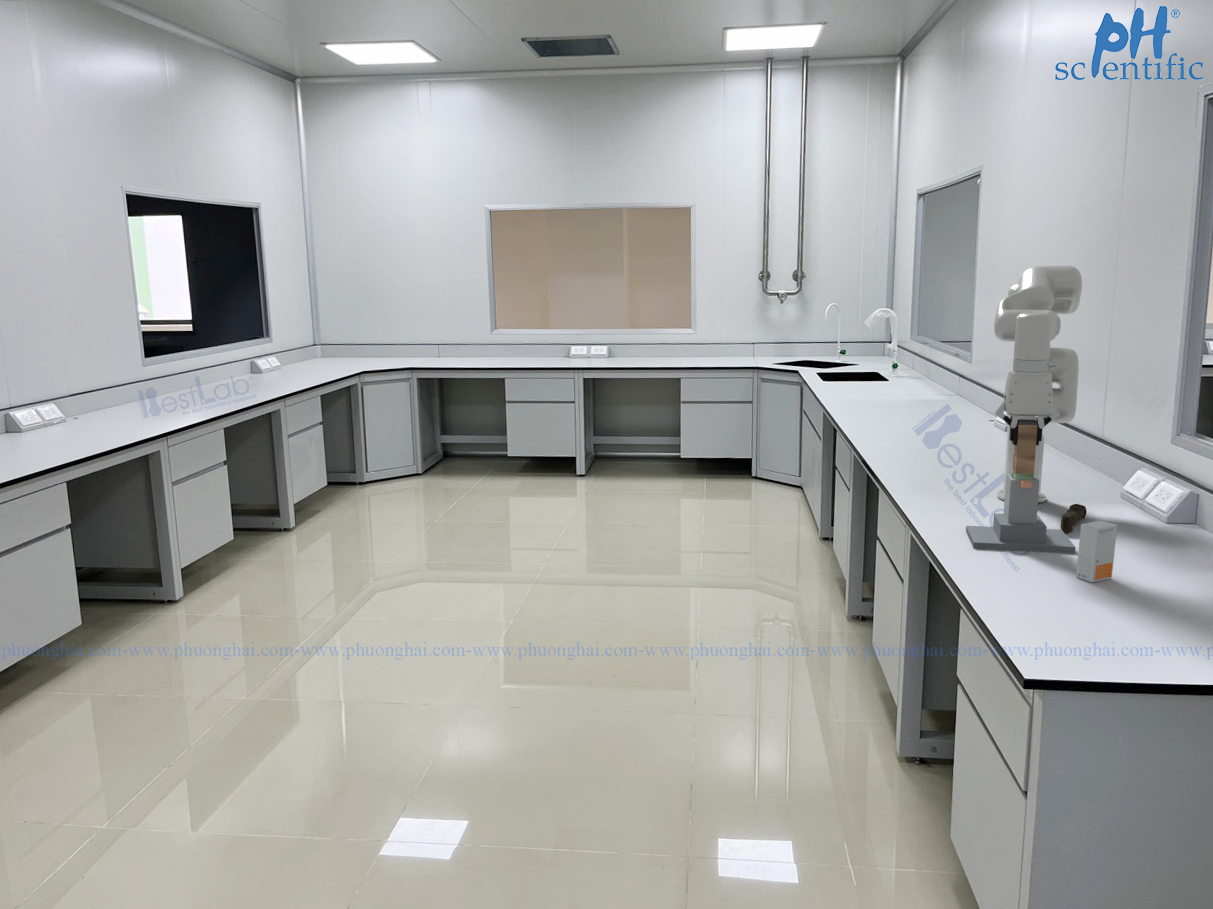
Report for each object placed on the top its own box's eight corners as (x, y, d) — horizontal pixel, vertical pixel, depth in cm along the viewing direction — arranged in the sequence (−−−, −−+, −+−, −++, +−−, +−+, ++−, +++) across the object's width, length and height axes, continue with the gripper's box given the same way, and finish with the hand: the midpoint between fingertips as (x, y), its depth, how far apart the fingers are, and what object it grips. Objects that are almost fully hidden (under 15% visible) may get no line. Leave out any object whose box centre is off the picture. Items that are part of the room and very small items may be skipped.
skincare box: (1092, 583, 193) (1097, 528, 191) (1075, 577, 197) (1080, 523, 195) (1113, 579, 196) (1118, 524, 193) (1095, 573, 200) (1100, 519, 197)
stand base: (965, 531, 231) (969, 469, 228) (1061, 535, 226) (1066, 472, 223) (973, 548, 218) (977, 482, 215) (1074, 553, 213) (1080, 486, 209)
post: (1011, 487, 222) (1015, 418, 218) (1029, 488, 221) (1034, 419, 217) (1014, 491, 218) (1018, 421, 214) (1032, 492, 217) (1037, 422, 213)
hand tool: (1069, 517, 242) (1070, 500, 241) (1086, 519, 240) (1087, 502, 239) (1050, 534, 228) (1051, 516, 227) (1068, 537, 225) (1069, 519, 224)
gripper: (1066, 364, 215) (1060, 441, 218) (989, 364, 219) (984, 440, 222) (1074, 368, 207) (1067, 448, 211) (994, 368, 212) (989, 446, 215)
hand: (1025, 443), depth 217 cm, fingers closed on post, 4 cm apart
